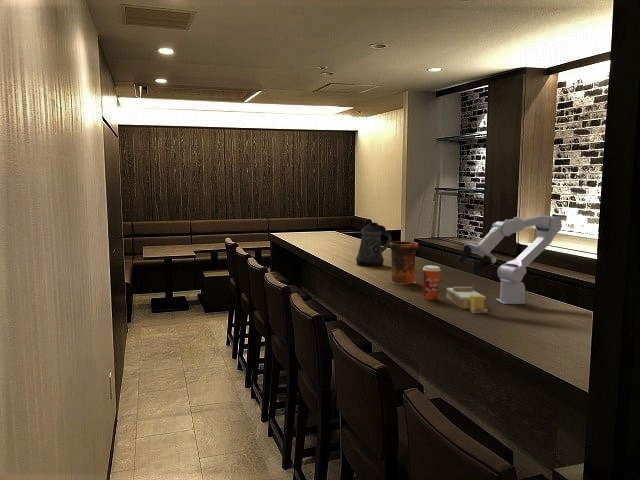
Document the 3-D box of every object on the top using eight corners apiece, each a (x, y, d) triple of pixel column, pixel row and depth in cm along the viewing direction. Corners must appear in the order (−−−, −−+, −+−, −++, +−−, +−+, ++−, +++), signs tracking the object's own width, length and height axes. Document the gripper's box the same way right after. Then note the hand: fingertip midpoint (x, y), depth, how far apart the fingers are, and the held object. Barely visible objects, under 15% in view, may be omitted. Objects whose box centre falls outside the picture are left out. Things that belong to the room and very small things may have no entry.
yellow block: (479, 309, 211) (479, 294, 211) (483, 312, 207) (484, 297, 207) (469, 309, 211) (470, 294, 210) (473, 312, 207) (474, 297, 206)
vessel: (404, 286, 253) (405, 244, 251) (382, 281, 264) (383, 242, 262) (423, 282, 262) (424, 242, 261) (401, 278, 273) (402, 240, 271)
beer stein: (351, 263, 318) (352, 221, 315) (378, 261, 326) (380, 221, 323) (364, 267, 303) (366, 224, 300) (393, 265, 311) (394, 223, 308)
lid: (468, 290, 230) (469, 284, 230) (485, 299, 212) (486, 293, 212) (446, 290, 229) (446, 284, 229) (461, 299, 211) (462, 293, 211)
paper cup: (426, 301, 224) (427, 268, 222) (418, 296, 231) (419, 265, 230) (442, 300, 226) (444, 268, 224) (434, 296, 233) (435, 265, 232)
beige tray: (468, 298, 230) (468, 290, 230) (492, 313, 206) (492, 304, 206) (446, 298, 229) (446, 290, 229) (467, 313, 205) (467, 304, 205)
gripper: (472, 230, 219) (451, 252, 216) (502, 245, 209) (480, 269, 206) (474, 240, 224) (454, 262, 221) (503, 255, 214) (482, 279, 212)
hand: (467, 266), depth 214 cm, fingers open, 7 cm apart
